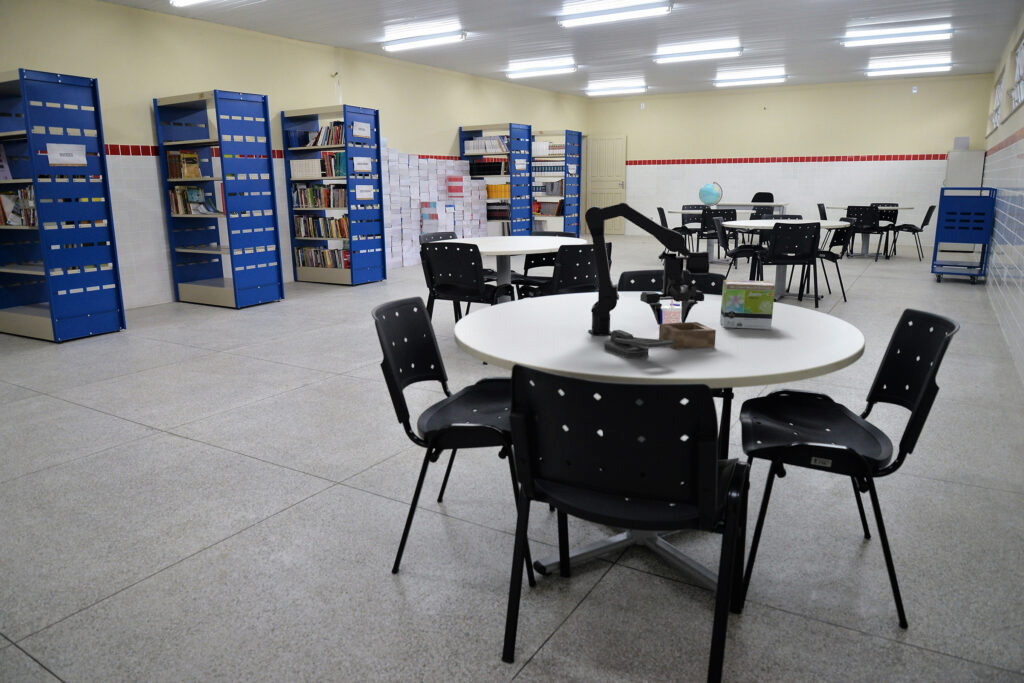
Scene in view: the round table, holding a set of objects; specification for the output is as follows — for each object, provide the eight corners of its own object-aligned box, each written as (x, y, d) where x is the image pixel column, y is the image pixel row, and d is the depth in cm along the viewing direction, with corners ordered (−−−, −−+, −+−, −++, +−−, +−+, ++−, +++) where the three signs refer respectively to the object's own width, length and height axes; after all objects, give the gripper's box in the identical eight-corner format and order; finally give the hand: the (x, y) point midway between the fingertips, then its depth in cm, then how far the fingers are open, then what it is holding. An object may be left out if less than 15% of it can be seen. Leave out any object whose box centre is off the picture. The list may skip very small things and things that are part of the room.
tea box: (723, 328, 220) (726, 283, 217) (719, 322, 230) (722, 279, 226) (771, 330, 217) (775, 284, 214) (766, 323, 227) (769, 280, 224)
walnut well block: (658, 340, 204) (659, 323, 203) (695, 338, 207) (696, 322, 205) (675, 349, 193) (676, 332, 192) (714, 347, 195) (715, 330, 194)
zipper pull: (648, 344, 171) (600, 325, 194) (647, 369, 173) (599, 348, 195) (677, 341, 174) (627, 323, 197) (676, 365, 176) (626, 345, 199)
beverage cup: (661, 337, 208) (663, 292, 204) (659, 333, 214) (661, 289, 210) (681, 338, 207) (683, 292, 204) (679, 333, 213) (681, 289, 210)
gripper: (655, 278, 196) (653, 330, 200) (714, 276, 200) (711, 327, 203) (640, 273, 207) (638, 323, 211) (697, 271, 211) (694, 320, 214)
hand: (670, 324), depth 209 cm, fingers closed on beverage cup, 8 cm apart
